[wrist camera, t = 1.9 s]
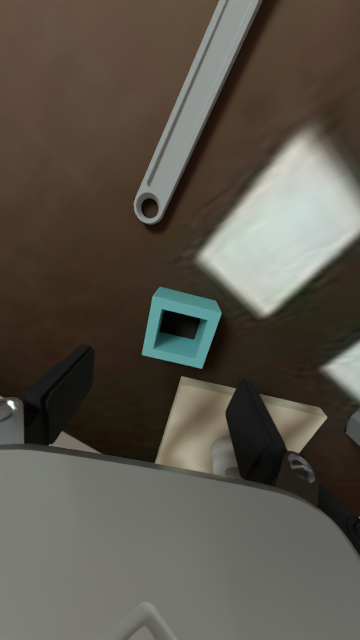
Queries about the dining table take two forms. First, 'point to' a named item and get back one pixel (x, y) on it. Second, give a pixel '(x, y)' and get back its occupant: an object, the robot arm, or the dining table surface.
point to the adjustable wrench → (196, 102)
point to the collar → (175, 345)
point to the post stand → (224, 427)
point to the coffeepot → (354, 426)
